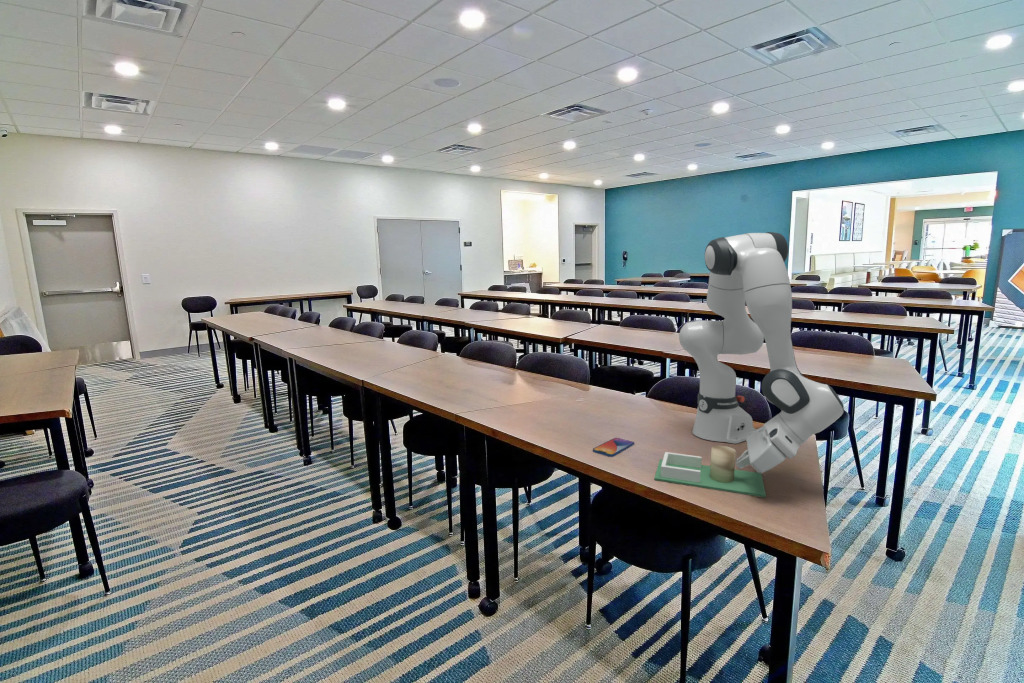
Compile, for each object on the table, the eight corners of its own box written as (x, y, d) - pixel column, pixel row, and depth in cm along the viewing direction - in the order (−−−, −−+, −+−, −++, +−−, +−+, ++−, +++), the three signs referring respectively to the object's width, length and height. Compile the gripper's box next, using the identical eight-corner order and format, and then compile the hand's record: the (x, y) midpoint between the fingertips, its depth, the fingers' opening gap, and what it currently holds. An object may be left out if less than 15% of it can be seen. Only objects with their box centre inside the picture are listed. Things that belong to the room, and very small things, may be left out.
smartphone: (635, 445, 161) (635, 442, 161) (612, 458, 150) (612, 455, 150) (615, 440, 166) (615, 437, 166) (591, 452, 155) (591, 449, 154)
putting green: (761, 475, 136) (762, 462, 136) (765, 497, 124) (766, 483, 123) (659, 460, 147) (660, 449, 146) (654, 480, 134) (654, 467, 133)
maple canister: (721, 471, 138) (723, 444, 136) (739, 480, 132) (740, 451, 131) (704, 475, 135) (706, 447, 134) (721, 484, 130) (723, 455, 129)
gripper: (769, 413, 137) (728, 442, 142) (777, 438, 118) (729, 470, 123) (786, 430, 136) (744, 459, 141) (796, 458, 117) (748, 490, 122)
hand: (737, 464), depth 132 cm, fingers closed
